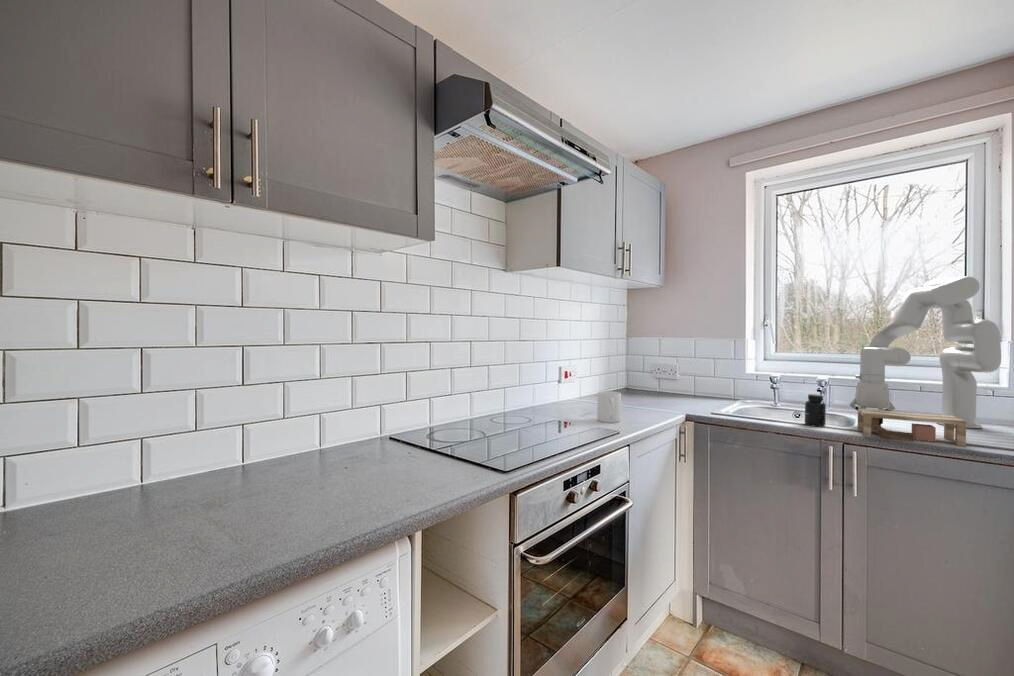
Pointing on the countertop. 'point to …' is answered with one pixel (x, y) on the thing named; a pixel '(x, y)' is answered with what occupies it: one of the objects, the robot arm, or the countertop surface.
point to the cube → (924, 432)
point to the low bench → (948, 420)
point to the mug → (609, 407)
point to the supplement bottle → (815, 410)
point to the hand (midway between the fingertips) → (871, 424)
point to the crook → (889, 432)
